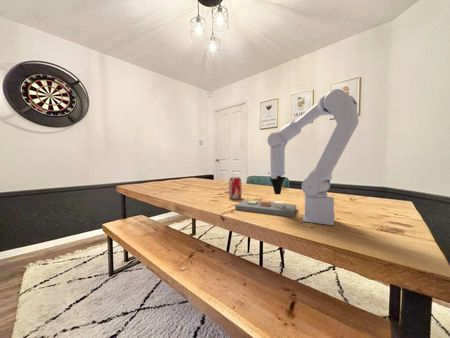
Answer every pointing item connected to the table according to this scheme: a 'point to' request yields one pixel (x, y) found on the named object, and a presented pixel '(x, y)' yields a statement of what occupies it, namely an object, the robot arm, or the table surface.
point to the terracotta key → (265, 203)
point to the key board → (267, 208)
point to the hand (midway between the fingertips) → (277, 194)
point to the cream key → (279, 204)
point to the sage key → (252, 202)
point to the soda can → (235, 188)
